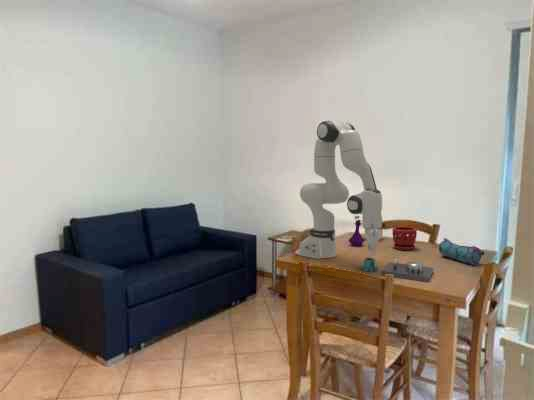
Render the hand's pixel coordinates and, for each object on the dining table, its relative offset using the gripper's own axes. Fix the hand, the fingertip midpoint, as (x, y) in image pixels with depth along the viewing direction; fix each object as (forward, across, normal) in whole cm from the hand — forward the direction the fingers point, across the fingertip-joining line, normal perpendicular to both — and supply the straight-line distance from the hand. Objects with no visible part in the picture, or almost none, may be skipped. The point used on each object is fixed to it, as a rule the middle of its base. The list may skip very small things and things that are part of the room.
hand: (371, 252), depth 186 cm
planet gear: (+8, +1, +1) cm, 9 cm away
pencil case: (+8, +23, -47) cm, 53 cm away
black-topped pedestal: (+6, +67, -9) cm, 68 cm away
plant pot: (+7, +45, -24) cm, 51 cm away
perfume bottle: (+7, +49, +3) cm, 50 cm away
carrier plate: (+9, -4, -16) cm, 18 cm away
